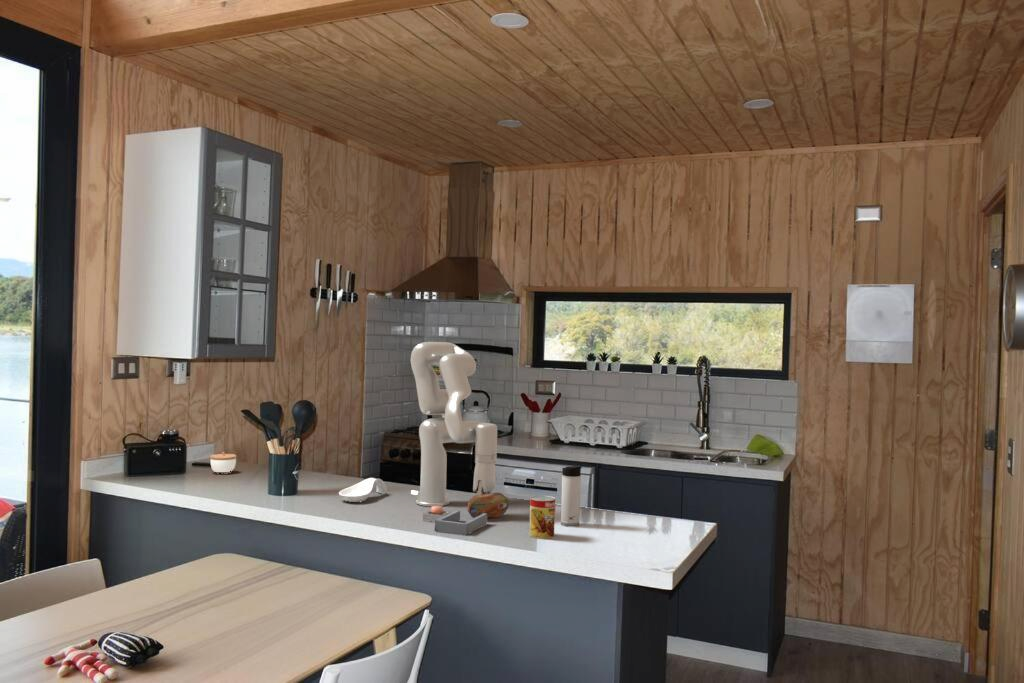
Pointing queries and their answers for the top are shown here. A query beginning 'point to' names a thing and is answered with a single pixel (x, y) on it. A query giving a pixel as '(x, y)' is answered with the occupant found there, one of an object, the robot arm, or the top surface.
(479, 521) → the bay
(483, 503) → the tin
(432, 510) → the button
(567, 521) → the travel mug
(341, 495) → the spoon rest
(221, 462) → the lidded jar
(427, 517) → the switch box
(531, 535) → the canned food
